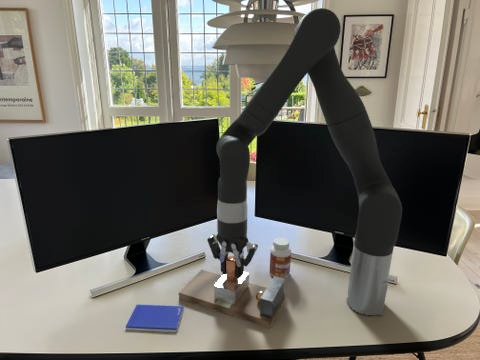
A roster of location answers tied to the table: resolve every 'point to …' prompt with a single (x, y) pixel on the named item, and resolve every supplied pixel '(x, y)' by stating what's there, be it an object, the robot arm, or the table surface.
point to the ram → (231, 283)
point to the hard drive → (155, 318)
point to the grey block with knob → (271, 297)
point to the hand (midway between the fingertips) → (232, 274)
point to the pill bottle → (280, 258)
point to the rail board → (245, 308)
